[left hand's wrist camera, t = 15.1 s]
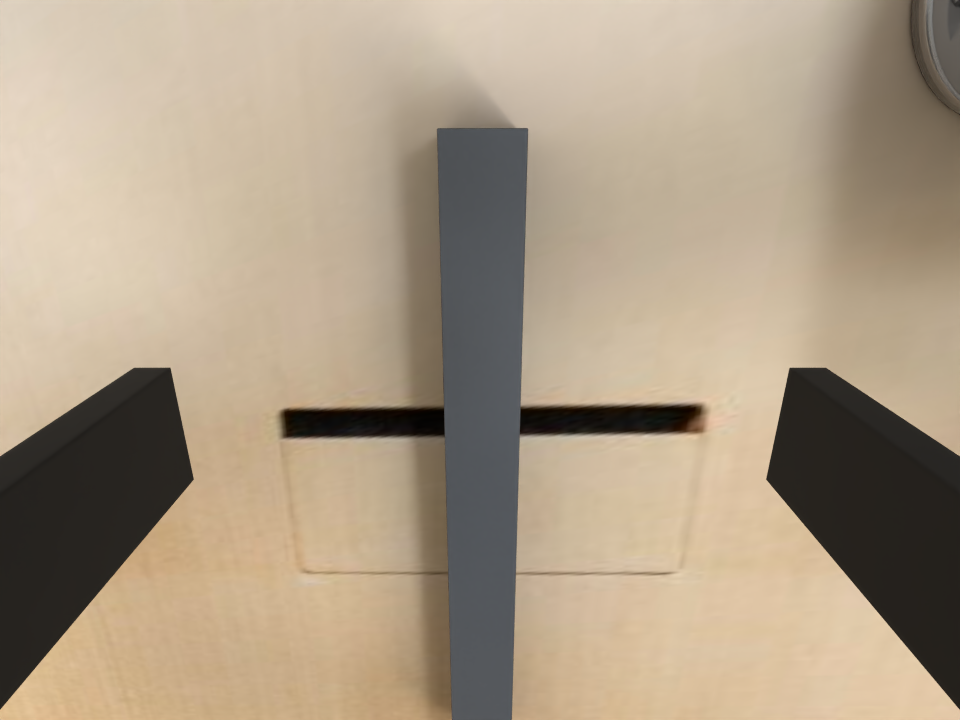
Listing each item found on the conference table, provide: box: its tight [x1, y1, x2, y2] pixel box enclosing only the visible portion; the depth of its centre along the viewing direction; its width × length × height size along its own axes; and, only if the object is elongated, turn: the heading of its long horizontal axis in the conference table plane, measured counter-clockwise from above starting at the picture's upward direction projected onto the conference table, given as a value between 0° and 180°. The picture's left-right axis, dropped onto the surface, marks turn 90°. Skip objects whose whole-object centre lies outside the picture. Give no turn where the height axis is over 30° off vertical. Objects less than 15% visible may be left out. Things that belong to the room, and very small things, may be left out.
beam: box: [437, 128, 528, 720], centre depth 42 cm, size 52×5×8 cm, turn 0°
